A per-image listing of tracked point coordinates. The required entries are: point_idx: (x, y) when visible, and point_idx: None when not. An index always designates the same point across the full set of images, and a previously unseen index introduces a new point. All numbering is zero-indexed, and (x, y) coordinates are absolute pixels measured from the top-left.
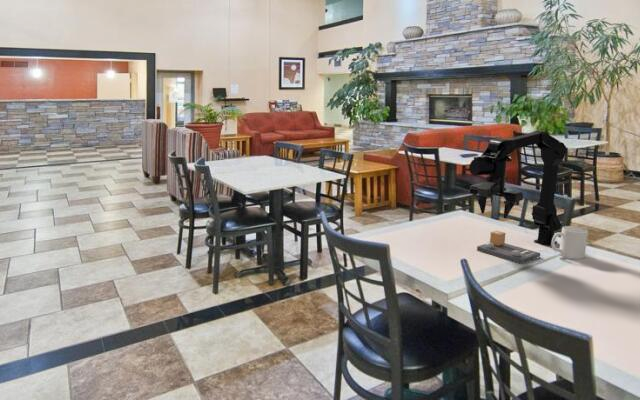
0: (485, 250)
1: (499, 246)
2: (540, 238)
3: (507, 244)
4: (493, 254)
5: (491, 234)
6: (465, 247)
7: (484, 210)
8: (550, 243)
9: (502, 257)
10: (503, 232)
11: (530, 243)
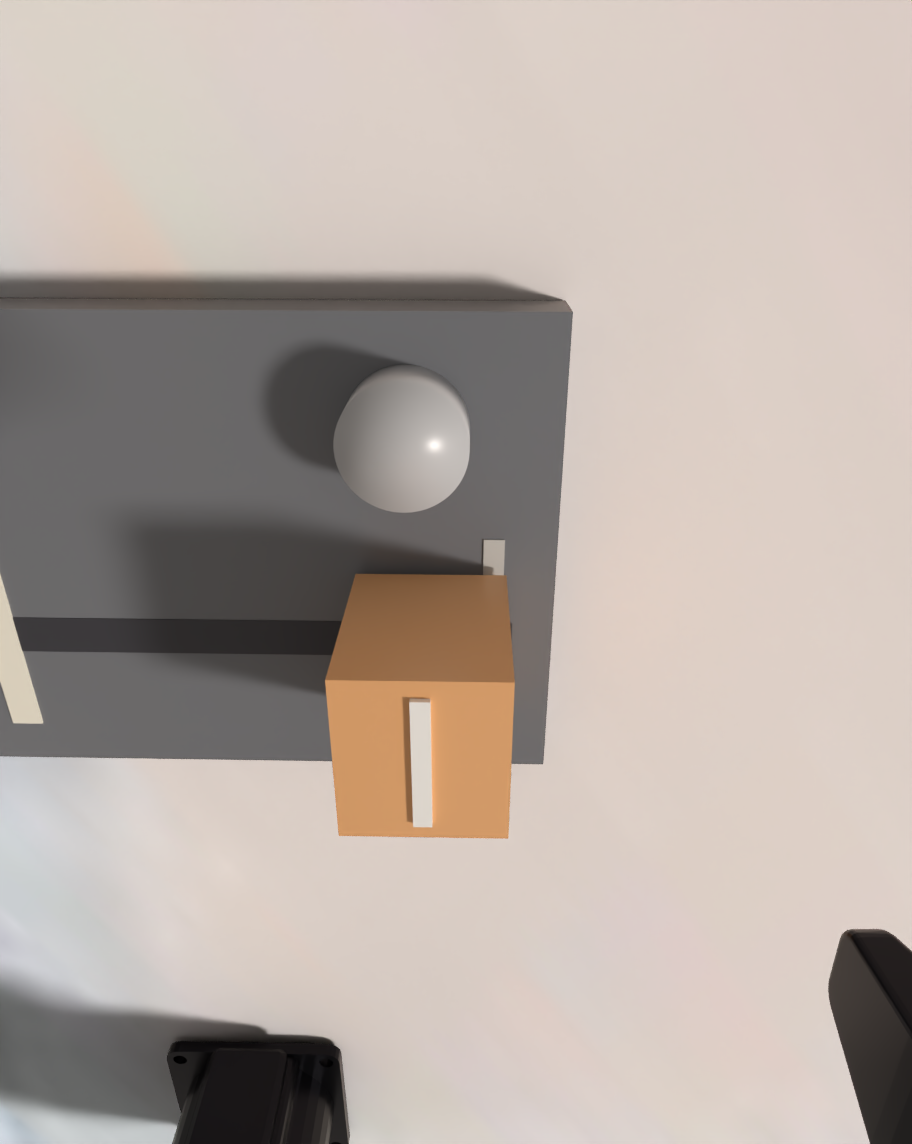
0: (401, 307)
1: None
2: (244, 1093)
3: None
4: (247, 300)
5: (492, 658)
6: (778, 265)
7: (863, 1100)
8: (185, 1081)
9: (86, 301)
10: (371, 827)
11: (326, 994)
